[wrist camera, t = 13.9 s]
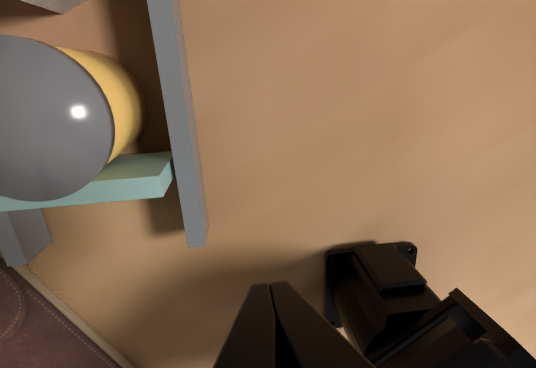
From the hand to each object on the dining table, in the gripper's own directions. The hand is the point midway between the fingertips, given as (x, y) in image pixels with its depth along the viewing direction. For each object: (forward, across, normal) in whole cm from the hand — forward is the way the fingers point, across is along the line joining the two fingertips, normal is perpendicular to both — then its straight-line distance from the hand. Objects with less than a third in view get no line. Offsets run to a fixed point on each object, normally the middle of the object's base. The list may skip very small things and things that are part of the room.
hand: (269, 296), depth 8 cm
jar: (+12, +8, -4) cm, 15 cm away
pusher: (+12, +8, -1) cm, 14 cm away
